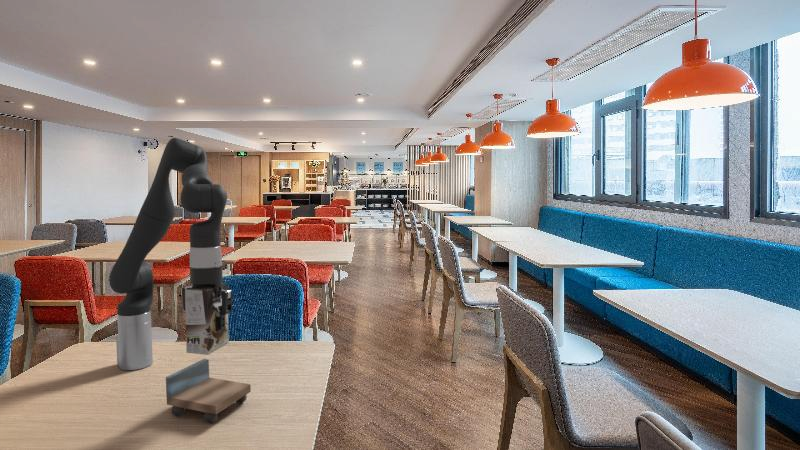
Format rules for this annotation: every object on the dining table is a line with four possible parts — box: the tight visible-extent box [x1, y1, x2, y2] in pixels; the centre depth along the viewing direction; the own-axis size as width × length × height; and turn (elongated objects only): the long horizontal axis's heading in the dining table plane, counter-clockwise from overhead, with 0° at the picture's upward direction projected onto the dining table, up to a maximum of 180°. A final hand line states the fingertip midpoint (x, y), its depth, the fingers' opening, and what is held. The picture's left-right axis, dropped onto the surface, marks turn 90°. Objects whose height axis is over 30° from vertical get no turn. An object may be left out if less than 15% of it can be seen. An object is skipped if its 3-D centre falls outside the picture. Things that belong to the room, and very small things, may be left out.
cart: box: [165, 358, 252, 425], centre depth 118 cm, size 15×13×10 cm
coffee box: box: [184, 282, 230, 356], centre depth 117 cm, size 9×6×16 cm
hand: (208, 328), depth 117 cm, fingers closed on coffee box, 7 cm apart
